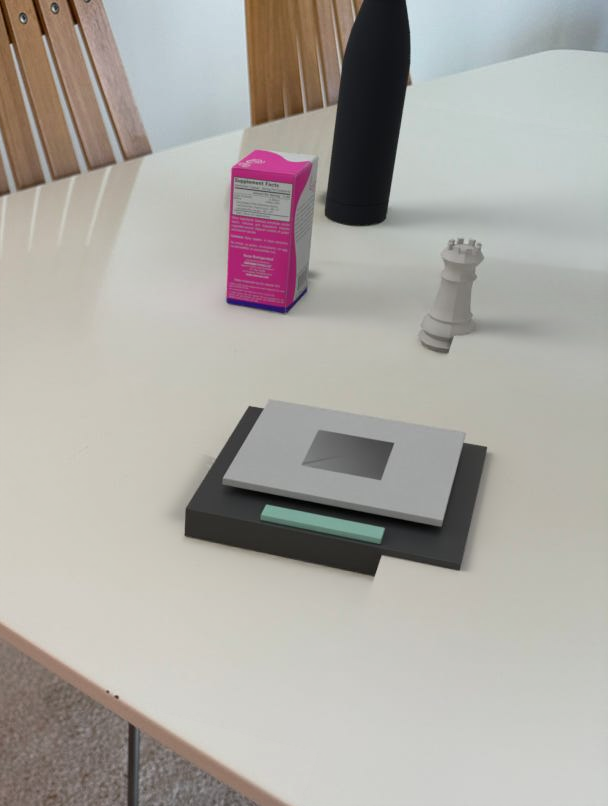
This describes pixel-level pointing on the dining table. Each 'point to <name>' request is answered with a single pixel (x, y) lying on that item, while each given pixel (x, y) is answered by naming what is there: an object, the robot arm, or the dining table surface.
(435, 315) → the rook chess piece
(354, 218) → the wine bottle
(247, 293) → the supplement box
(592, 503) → the dining table surface
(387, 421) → the kitchen scale
